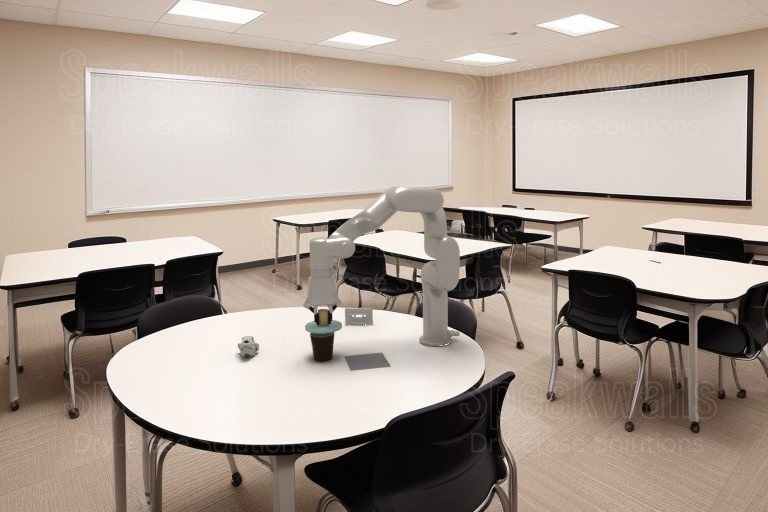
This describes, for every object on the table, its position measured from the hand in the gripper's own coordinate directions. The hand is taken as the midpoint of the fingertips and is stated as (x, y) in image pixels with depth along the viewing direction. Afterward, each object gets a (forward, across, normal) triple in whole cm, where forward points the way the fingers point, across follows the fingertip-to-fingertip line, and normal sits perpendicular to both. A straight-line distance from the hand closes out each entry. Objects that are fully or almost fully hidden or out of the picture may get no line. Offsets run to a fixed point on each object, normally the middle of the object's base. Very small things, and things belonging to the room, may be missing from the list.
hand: (323, 323), depth 186 cm
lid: (+2, 0, 0) cm, 2 cm away
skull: (+13, +27, -11) cm, 32 cm away
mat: (+13, -14, +8) cm, 21 cm away
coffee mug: (+13, 0, 0) cm, 13 cm away
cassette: (+14, -19, -36) cm, 43 cm away
